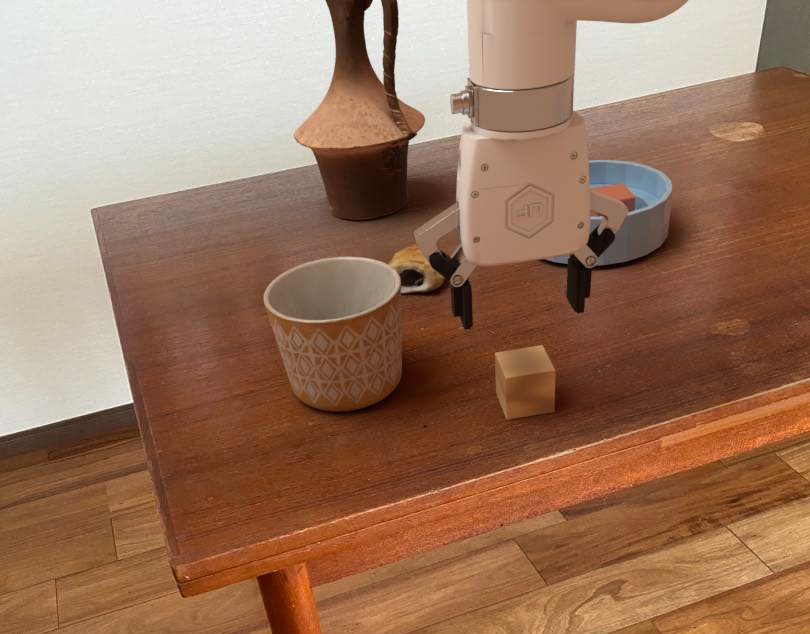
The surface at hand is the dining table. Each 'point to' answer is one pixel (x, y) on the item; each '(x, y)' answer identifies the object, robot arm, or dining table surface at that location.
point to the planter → (338, 330)
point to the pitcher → (362, 121)
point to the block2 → (616, 196)
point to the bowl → (641, 225)
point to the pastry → (415, 271)
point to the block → (525, 382)
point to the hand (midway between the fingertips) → (520, 313)
